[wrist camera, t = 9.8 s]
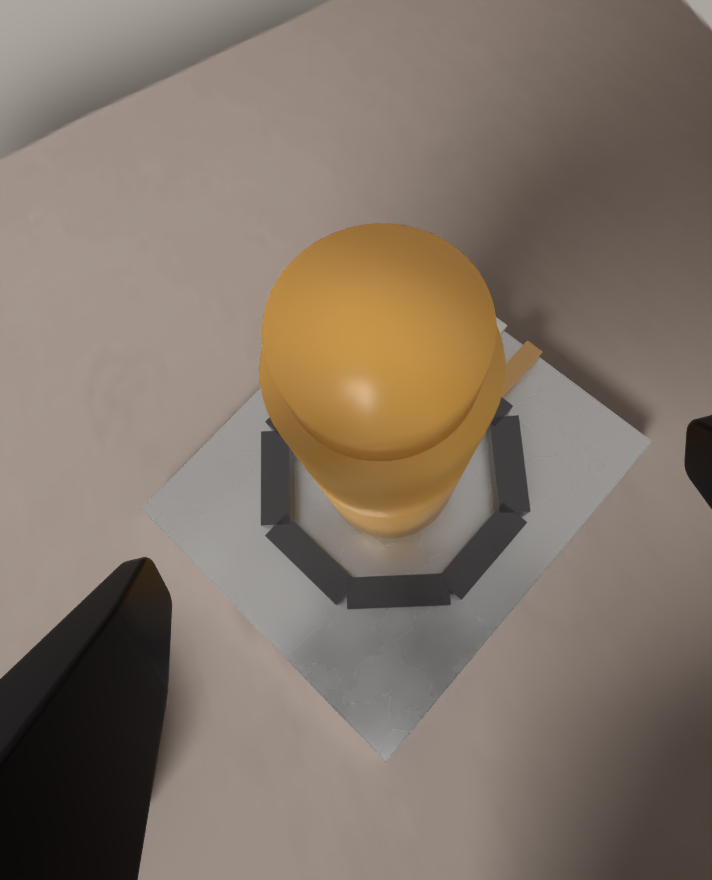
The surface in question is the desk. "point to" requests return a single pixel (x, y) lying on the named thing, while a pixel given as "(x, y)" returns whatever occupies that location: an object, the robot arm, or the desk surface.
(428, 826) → the desk surface
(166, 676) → the robot arm
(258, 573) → the plate
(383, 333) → the domed yellow peg
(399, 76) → the desk surface
